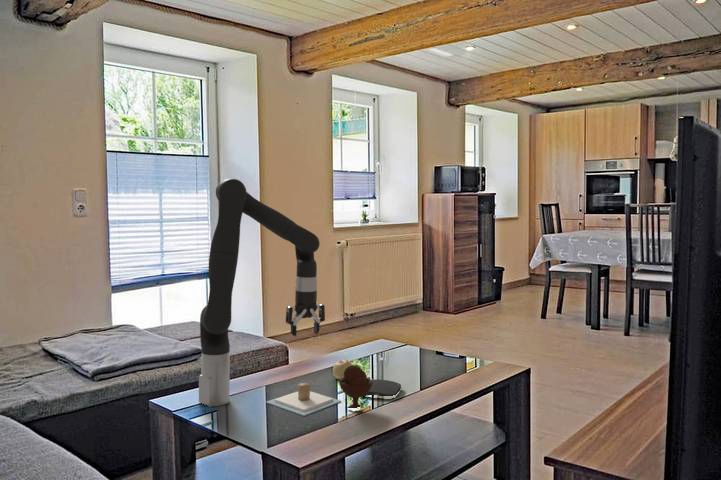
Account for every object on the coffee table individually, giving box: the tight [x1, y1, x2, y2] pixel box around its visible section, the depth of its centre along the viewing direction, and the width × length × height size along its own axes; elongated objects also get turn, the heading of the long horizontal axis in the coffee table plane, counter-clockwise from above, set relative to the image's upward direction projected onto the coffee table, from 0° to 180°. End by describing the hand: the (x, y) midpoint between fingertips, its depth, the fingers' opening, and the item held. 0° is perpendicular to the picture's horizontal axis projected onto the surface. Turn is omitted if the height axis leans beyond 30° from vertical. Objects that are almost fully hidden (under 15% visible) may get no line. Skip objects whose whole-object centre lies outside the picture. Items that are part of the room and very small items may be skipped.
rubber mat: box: [265, 390, 342, 417], centre depth 206 cm, size 18×18×1 cm
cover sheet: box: [274, 382, 334, 412], centre depth 206 cm, size 14×14×6 cm
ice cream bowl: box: [338, 364, 373, 408], centre depth 200 cm, size 11×11×15 cm
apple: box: [332, 359, 353, 381], centre depth 233 cm, size 8×8×8 cm
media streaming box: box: [364, 378, 402, 396], centre depth 219 cm, size 15×15×3 cm
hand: (305, 334), depth 215 cm, fingers open, 8 cm apart
